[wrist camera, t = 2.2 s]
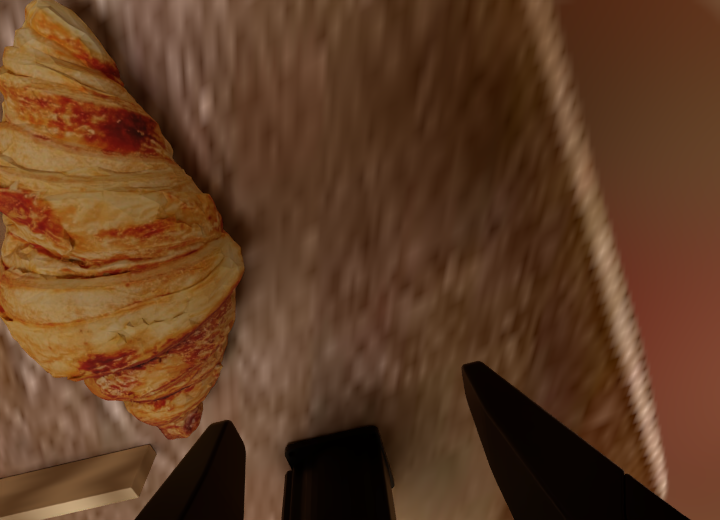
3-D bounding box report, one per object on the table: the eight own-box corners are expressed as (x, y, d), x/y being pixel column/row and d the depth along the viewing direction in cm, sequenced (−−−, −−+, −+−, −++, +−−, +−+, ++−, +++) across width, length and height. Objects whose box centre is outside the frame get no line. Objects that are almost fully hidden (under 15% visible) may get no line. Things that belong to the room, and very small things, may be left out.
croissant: (46, 16, 19) (-221, 3, 12) (217, -12, 15) (-42, -52, 9) (170, 372, 28) (54, 469, 22) (295, 410, 25) (199, 543, 18)
